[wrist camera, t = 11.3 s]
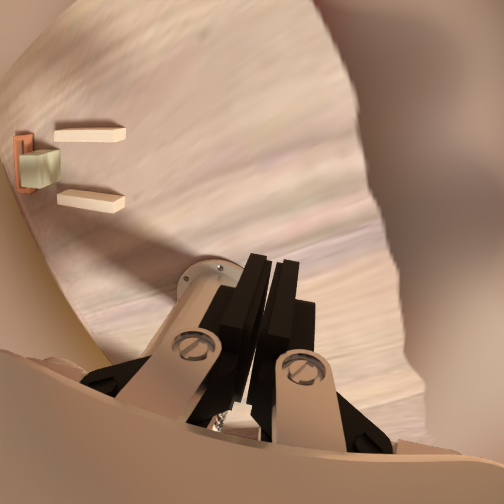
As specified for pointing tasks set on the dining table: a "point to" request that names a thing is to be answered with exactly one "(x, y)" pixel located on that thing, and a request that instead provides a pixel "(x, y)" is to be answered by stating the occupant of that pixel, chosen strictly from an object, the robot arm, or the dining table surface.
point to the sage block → (40, 168)
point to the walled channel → (88, 198)
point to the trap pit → (21, 147)
